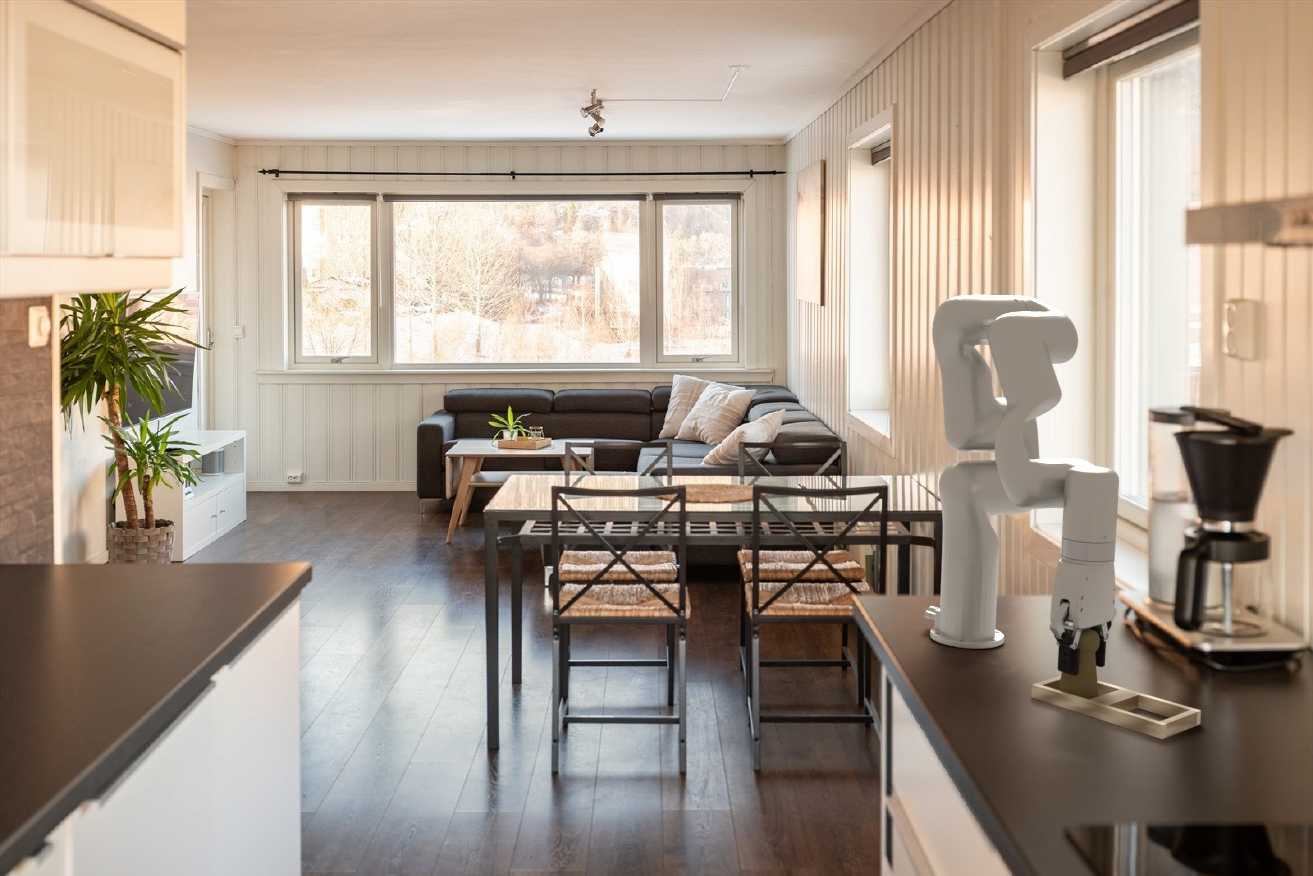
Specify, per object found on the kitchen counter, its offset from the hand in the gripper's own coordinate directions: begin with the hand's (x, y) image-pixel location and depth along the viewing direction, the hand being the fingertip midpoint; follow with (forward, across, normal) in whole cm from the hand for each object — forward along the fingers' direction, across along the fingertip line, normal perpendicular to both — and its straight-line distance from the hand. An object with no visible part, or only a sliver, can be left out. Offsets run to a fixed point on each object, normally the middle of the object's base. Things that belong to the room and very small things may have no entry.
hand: (1081, 667), depth 179 cm
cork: (+5, 0, 0) cm, 5 cm away
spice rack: (+5, 0, +6) cm, 7 cm away
